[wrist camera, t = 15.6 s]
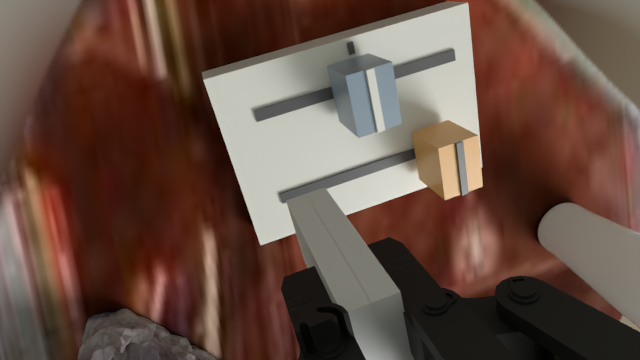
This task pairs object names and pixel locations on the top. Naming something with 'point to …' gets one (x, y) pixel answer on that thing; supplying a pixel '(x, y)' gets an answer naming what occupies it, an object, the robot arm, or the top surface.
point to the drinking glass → (596, 254)
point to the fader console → (322, 119)
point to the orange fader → (448, 159)
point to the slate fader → (365, 94)
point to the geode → (133, 340)
